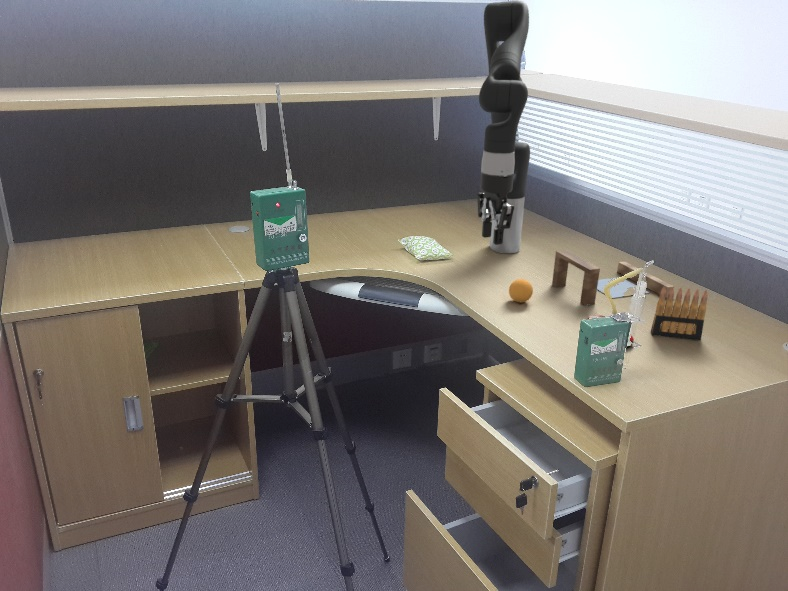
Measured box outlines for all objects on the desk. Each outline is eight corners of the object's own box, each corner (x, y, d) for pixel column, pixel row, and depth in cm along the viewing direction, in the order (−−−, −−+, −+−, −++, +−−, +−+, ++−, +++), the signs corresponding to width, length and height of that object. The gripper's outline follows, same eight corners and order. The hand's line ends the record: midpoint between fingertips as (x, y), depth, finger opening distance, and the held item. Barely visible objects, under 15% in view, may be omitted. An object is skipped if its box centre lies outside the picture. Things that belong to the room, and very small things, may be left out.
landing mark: (584, 282, 182) (584, 281, 182) (620, 277, 186) (620, 276, 186) (612, 298, 172) (612, 298, 172) (649, 293, 176) (649, 292, 176)
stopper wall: (617, 272, 190) (618, 262, 189) (622, 271, 191) (624, 261, 190) (666, 297, 173) (668, 287, 172) (672, 296, 174) (674, 286, 173)
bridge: (584, 305, 168) (589, 269, 164) (551, 284, 181) (555, 250, 177) (594, 304, 169) (600, 268, 165) (561, 283, 182) (565, 249, 178)
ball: (503, 298, 171) (505, 277, 169) (523, 295, 173) (526, 274, 171) (515, 307, 166) (517, 285, 163) (536, 304, 168) (538, 282, 165)
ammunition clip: (651, 335, 152) (660, 287, 148) (650, 332, 154) (659, 284, 149) (700, 340, 150) (711, 292, 146) (699, 337, 152) (709, 289, 147)
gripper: (469, 165, 158) (464, 233, 164) (498, 178, 145) (492, 251, 152) (496, 163, 160) (491, 230, 167) (527, 176, 148) (520, 248, 154)
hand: (492, 240), depth 159 cm, fingers open, 5 cm apart
